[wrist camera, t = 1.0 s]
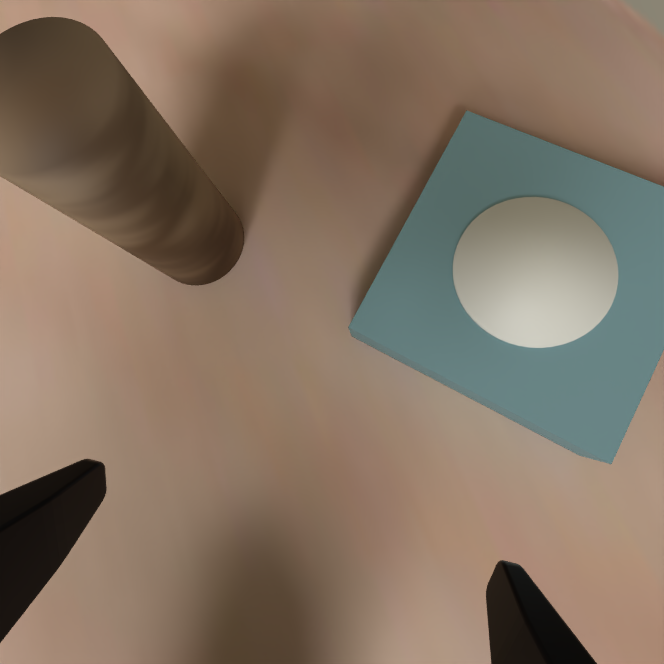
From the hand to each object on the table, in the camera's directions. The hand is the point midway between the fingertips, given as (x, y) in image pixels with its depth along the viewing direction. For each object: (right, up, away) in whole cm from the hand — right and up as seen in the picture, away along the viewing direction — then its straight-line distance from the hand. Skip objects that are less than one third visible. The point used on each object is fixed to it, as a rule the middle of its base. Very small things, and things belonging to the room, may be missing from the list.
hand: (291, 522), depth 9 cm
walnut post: (-8, +10, +17) cm, 22 cm away
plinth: (+12, +7, +15) cm, 20 cm away
